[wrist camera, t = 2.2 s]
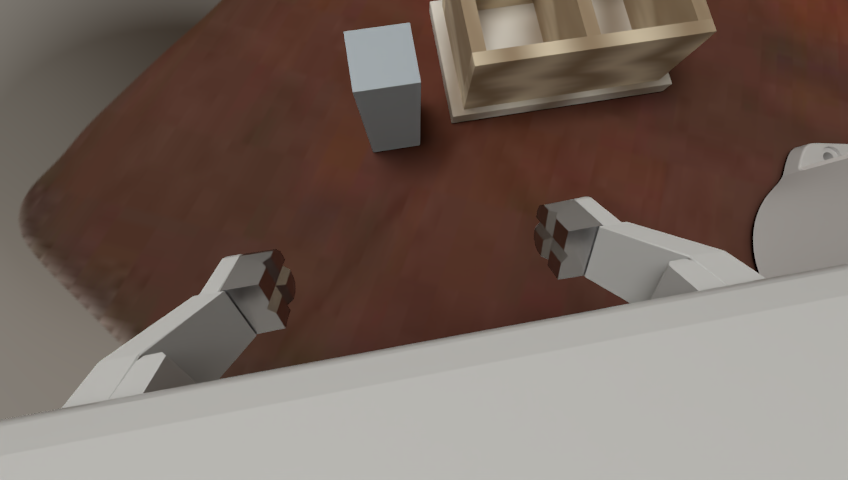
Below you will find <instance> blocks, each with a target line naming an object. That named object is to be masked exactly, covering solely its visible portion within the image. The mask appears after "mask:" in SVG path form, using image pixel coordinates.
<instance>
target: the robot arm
mask: <svg viewBox="0 0 848 480" xmlns="http://www.w3.org/2000/svg"><path fill="white" fill-rule="evenodd" d="M536 217H537V219H538V220H539V221H540V223H539V224H538V225H537V226H536V228H535V230H534V241H535V246H536V249H537V251H538V252H539V254H540V255H541V256H542V257H544V258H546V259H548V267H549V268H550V269H551V271H552V272H553V274H554V275H555V276H556V278H557V279H564V278H570V277H577V276H584V275H585V277H586V278H588V279H590V280H591V281H593V282H595V283H597V284H598V285H600V286H602V287H603V288H605V289H607V290H609V291H610V292H612V293H614V294H615V295H617V296H619V297H621V298H622V299H624V300H626V301H627V302H629V303H630V304H625V305H619V306H614V307H609V308H603V309H598V310H593V311H587V312H582V313H577V314H571V315H566V316H560V317H555V318H549V319H544V320H538V321H533V322H527V323H522V324H516V325H511V326H505V327H500V328H494V329H489V330H483V331H478V332H473V333H467V334H462V335H456V336H451V337H446V338H440V339H435V340H429V341H424V342H419V343H413V344H408V345H402V346H397V347H392V348H386V349H381V350H375V351H370V352H365V353H359V354H354V355H348V356H343V357H338V358H332V359H327V360H321V361H316V362H310V363H305V364H300V365H294V366H289V367H283V368H278V369H273V370H267V371H262V372H256V373H251V374H245V375H240V376H235V377H229V378H224V379H219V378H220V377H221V376H222V375H223V374H224V372H225V371H226V370H227V369H228V368H229V367H230V365H231V364H232V363H233V362H234V361H235V360H236V359H237V357H238V356H239V355H240V354H241V353H242V352H243V350H244V349H245V348H246V347H247V346H248V345H249V344H250V342H251V341H252V340H253V339H254V338H255V337H256V334H259V333H264V332H269V331H274V330H278V329H283V328H285V327H286V324H287V321H288V317H289V314H290V309H289V307H288V304H289V303H290V302H291V301H292V300H293V299H294V296H295V280H294V277H293V274H292V272H291V270H289V269H287V268H286V267H284V266H283V264H284V261H285V259H284V257H283V255H282V253H281V251H279V250H277V249H273V250H267V251H260V252H253V253H246V254H239V255H233V256H228V257H225V258H223V259H222V260H221V262H220V263H219V265H218V266H217V268H216V269H215V271H214V273H213V274H212V276H211V277H210V279H209V280H208V282H207V283H206V285H205V287H204V288H203V290H202V291H201V293H200V294H199V295H197V296H193V297H191V298H190V299H189V300H187V301H186V302H184V303H183V304H181V305H180V306H179V307H177V308H176V309H174V310H173V311H171V312H170V313H168V314H167V315H166V316H164V317H163V318H161V319H160V320H158V321H157V322H156V323H154V324H153V325H151V326H150V327H148V328H147V329H145V330H144V331H143V332H141V333H140V334H138V335H137V336H135V337H134V338H133V339H131V340H130V341H128V342H127V343H125V344H124V345H122V346H121V347H120V348H118V349H117V350H115V351H114V352H113V353H111V354H110V355H108V356H107V357H105V358H104V359H102V360H101V361H100V362H98V364H97V365H96V366H95V367H94V368H93V370H92V371H91V372H90V373H89V375H88V376H87V377H86V378H85V380H84V381H83V382H82V383H81V385H80V386H79V387H78V388H77V390H76V391H75V392H74V393H73V395H72V396H71V397H70V398H69V400H68V401H67V402H66V403H65V405H64V406H63V407H62V408H61V409H56V410H50V411H45V412H39V413H34V414H28V415H23V416H18V417H12V418H8V419H1V420H0V480H848V144H829V143H811V144H807V145H804V146H800V147H796V148H794V149H793V150H792V151H791V152H790V153H789V155H788V158H787V161H786V164H785V168H784V173H783V176H782V178H781V180H780V181H779V182H778V184H777V185H776V186H775V187H774V188H773V189H772V190H771V192H770V193H769V194H768V195H767V197H766V198H765V199H764V201H763V203H762V205H761V206H760V209H759V211H758V213H757V217H756V220H755V224H754V231H753V249H754V256H755V261H756V265H757V268H758V271H759V273H757V272H756V271H754V270H753V269H751V268H750V267H748V266H747V265H745V264H744V263H742V262H741V261H739V260H738V259H736V258H735V257H733V256H731V255H730V254H728V253H727V252H725V251H723V250H720V249H717V248H713V247H710V246H707V245H703V244H700V243H697V242H693V241H690V240H686V239H683V238H680V237H676V236H673V235H670V234H666V233H663V232H660V231H656V230H653V229H649V228H646V227H643V226H639V225H636V224H633V223H629V222H620V221H619V220H618V219H617V218H615V217H614V216H613V215H612V214H611V213H609V212H608V211H607V210H606V209H604V208H603V207H602V206H601V205H599V204H598V203H597V202H596V201H594V200H593V199H592V198H591V197H581V198H576V199H571V200H567V201H562V202H556V203H551V204H545V205H540V206H539V208H538V210H537V215H536Z"/></svg>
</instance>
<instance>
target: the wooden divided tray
mask: <svg viewBox="0 0 848 480" xmlns="http://www.w3.org/2000/svg"><path fill="white" fill-rule="evenodd" d="M429 12H430V17H431V22H432V27H433V32H434V37H435V42H436V47H437V52H438V57H439V62H440V67H441V72H442V77H443V82H444V87H445V92H446V97H447V102H448V107H449V112H450V117H451V122H452V123H457V122H463V121H470V120H476V119H483V118H489V117H496V116H503V115H509V114H516V113H522V112H529V111H535V110H542V109H548V108H555V107H562V106H568V105H575V104H581V103H588V102H594V101H601V100H608V99H614V98H621V97H627V96H634V95H640V94H647V93H653V92H660V91H663V90H665V89H666V88H667V87H668V86H670V85H671V84H672V82H671V79H670V76H669V73H668V72H669V71H670V70H672V69H673V68H674V67H675V66H676V65H677V64H679V63H680V62H681V61H682V60H683V59H684V58H686V57H687V56H688V55H689V54H690V53H692V52H693V51H694V50H695V49H696V48H697V47H699V46H700V45H701V44H702V43H703V42H704V41H706V40H707V39H708V38H709V37H710V36H711V35H713V34H714V33H715V32H716V28H715V25H714V22H713V20H712V17H711V14H710V11H709V8H708V5H707V3H706V0H439V1H431V2H430V10H429Z"/></svg>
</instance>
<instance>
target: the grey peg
mask: <svg viewBox="0 0 848 480" xmlns="http://www.w3.org/2000/svg"><path fill="white" fill-rule="evenodd" d="M344 38H345V44H346V51H347V58H348V64H349V71H350V77H351V84H352V91H353V94H354V97H355V100H356V103H357V106H358V109H359V112H360V115H361V118H362V121H363V124H364V127H365V130H366V133H367V136H368V138H369V141H370V144H371V147H372V150H373V152H379V151H385V150H392V149H398V148H405V147H411V146H418V145H420V114H421V80H420V75H419V70H418V64H417V59H416V54H415V48H414V43H413V38H412V32H411V27H410V23H403V24H396V25H389V26H382V27H374V28H367V29H360V30H352V31H345V32H344Z"/></svg>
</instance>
